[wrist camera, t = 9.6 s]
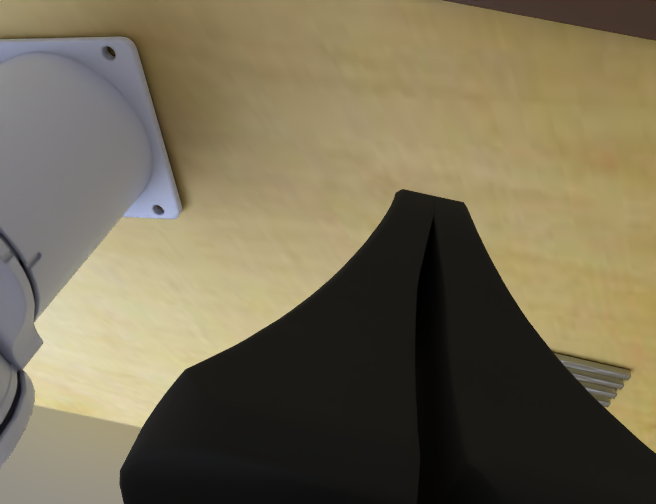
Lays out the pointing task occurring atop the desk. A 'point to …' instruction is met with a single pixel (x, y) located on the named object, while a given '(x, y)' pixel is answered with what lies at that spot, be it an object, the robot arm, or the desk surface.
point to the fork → (596, 377)
